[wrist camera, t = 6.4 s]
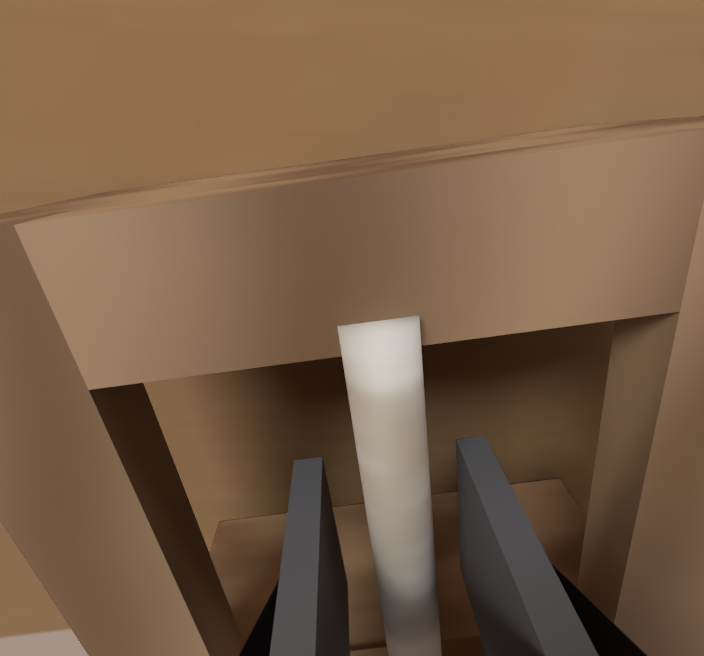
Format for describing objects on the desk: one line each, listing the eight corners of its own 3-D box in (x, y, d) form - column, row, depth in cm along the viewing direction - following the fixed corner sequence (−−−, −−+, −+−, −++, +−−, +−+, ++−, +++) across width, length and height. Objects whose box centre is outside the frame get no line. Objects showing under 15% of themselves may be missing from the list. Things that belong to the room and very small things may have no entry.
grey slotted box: (484, 435, 9) (642, 738, 4) (484, 565, 10) (597, 881, 6) (294, 460, 9) (252, 785, 4) (323, 585, 10) (316, 913, 6)
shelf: (595, 124, 12) (990, 93, 5) (555, 514, 18) (700, 753, 11) (101, 193, 12) (-235, 263, 5) (230, 554, 18) (165, 816, 11)
